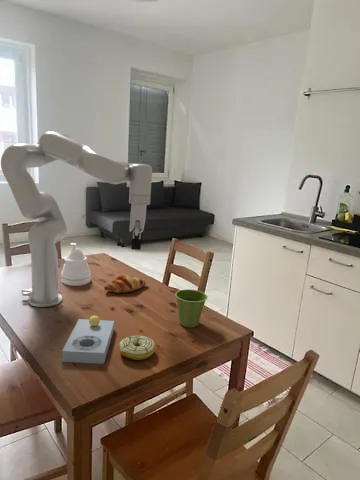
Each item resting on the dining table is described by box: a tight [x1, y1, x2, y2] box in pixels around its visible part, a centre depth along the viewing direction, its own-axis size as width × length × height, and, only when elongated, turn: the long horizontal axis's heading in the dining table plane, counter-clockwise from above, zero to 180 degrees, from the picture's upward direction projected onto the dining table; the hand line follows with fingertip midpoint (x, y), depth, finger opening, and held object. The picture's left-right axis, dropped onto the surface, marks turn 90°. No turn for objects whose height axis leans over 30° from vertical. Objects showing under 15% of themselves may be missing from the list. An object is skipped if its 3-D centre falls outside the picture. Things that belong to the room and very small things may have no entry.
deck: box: [61, 318, 115, 365], centre depth 112 cm, size 20×12×4 cm, turn 2°
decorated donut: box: [119, 335, 156, 361], centre depth 109 cm, size 10×11×4 cm
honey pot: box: [60, 242, 92, 287], centre depth 160 cm, size 13×13×18 cm
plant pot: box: [174, 288, 209, 328], centre depth 130 cm, size 12×12×11 cm
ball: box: [88, 315, 101, 326], centre depth 117 cm, size 3×3×3 cm
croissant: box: [103, 274, 148, 294], centre depth 156 cm, size 21×10×8 cm
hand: (136, 245), depth 130 cm, fingers open, 9 cm apart
